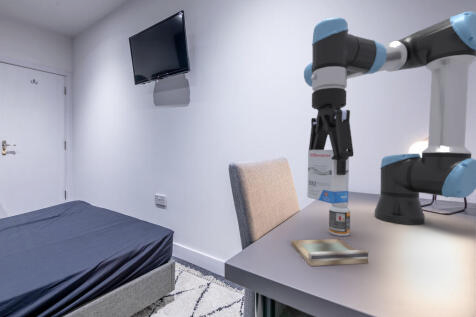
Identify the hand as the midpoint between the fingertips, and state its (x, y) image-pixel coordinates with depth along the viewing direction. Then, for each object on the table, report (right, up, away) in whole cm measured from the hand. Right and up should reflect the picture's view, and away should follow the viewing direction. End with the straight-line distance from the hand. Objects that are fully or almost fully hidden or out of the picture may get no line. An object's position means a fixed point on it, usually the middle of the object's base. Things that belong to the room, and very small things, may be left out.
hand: (327, 186), depth 57 cm
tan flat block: (0, -16, 0) cm, 16 cm away
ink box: (0, -3, 0) cm, 3 cm away
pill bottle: (+9, -16, +15) cm, 23 cm away
